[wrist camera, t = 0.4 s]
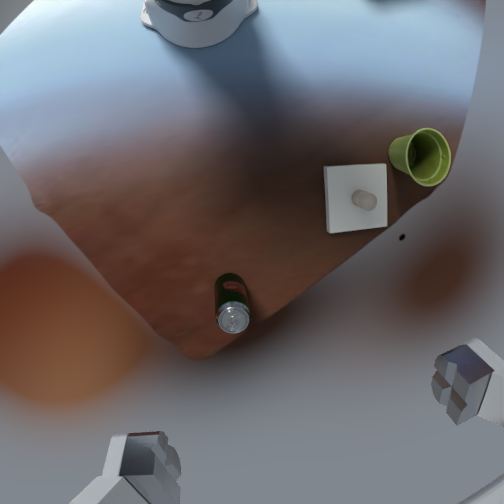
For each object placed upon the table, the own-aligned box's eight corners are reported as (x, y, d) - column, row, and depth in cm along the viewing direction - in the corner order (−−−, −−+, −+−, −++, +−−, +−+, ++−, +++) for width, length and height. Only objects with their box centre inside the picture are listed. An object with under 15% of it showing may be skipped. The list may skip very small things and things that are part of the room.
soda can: (249, 279, 56) (258, 313, 45) (235, 303, 57) (241, 340, 46) (223, 267, 55) (225, 298, 43) (209, 291, 56) (209, 327, 44)
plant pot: (422, 178, 54) (451, 185, 46) (381, 181, 53) (407, 188, 45) (420, 129, 51) (449, 129, 42) (377, 128, 50) (404, 126, 42)
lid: (324, 166, 51) (335, 168, 46) (383, 163, 51) (398, 165, 47) (327, 231, 54) (338, 240, 49) (384, 225, 55) (398, 232, 50)
